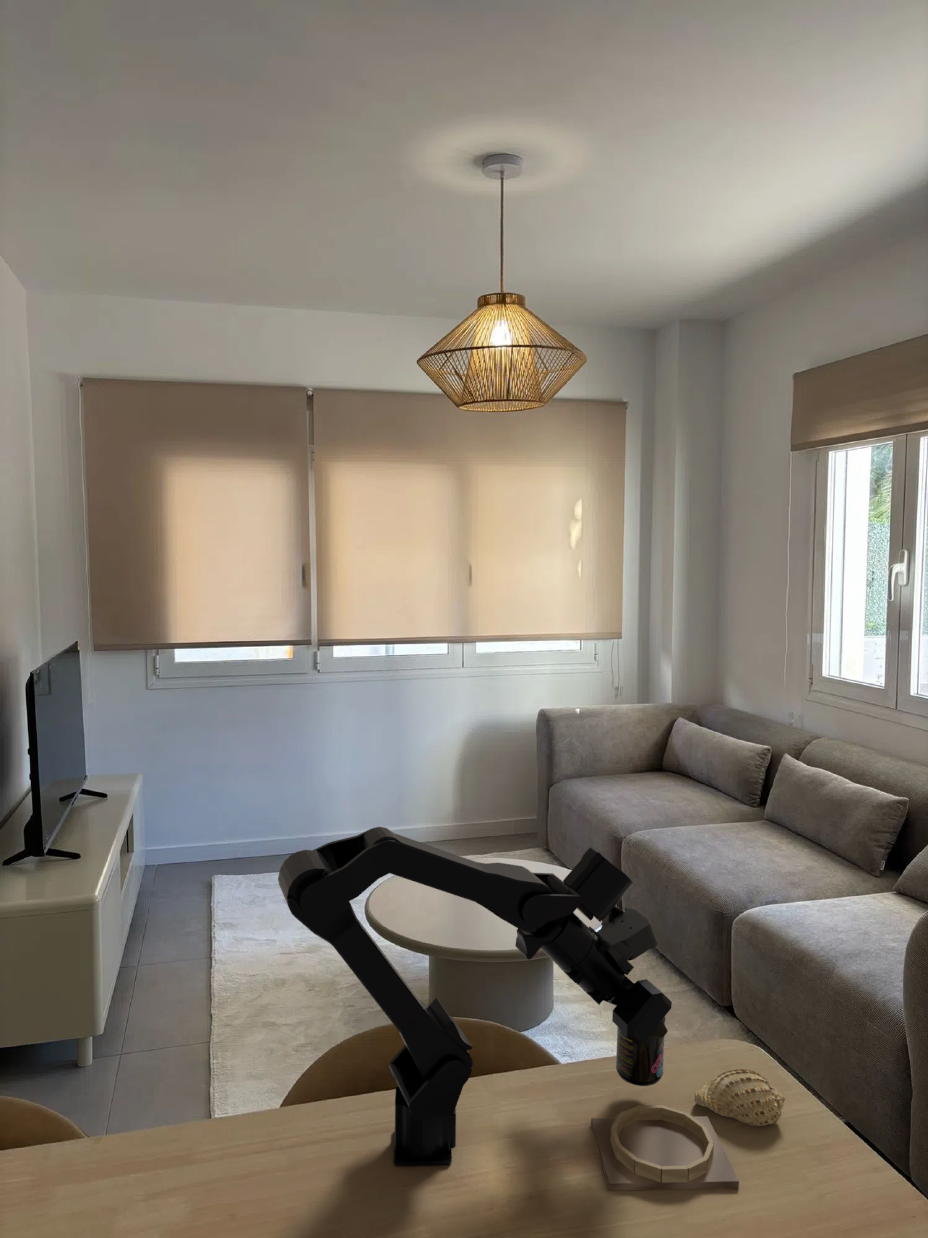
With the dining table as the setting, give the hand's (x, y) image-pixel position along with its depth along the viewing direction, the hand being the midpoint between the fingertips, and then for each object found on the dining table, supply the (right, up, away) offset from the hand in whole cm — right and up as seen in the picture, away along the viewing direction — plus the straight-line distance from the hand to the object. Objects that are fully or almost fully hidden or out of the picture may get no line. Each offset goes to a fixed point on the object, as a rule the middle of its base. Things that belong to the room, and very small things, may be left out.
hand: (651, 1021), depth 113 cm
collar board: (-1, -11, -10) cm, 15 cm away
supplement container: (-1, -7, 0) cm, 7 cm away
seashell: (+10, -11, -2) cm, 15 cm away
